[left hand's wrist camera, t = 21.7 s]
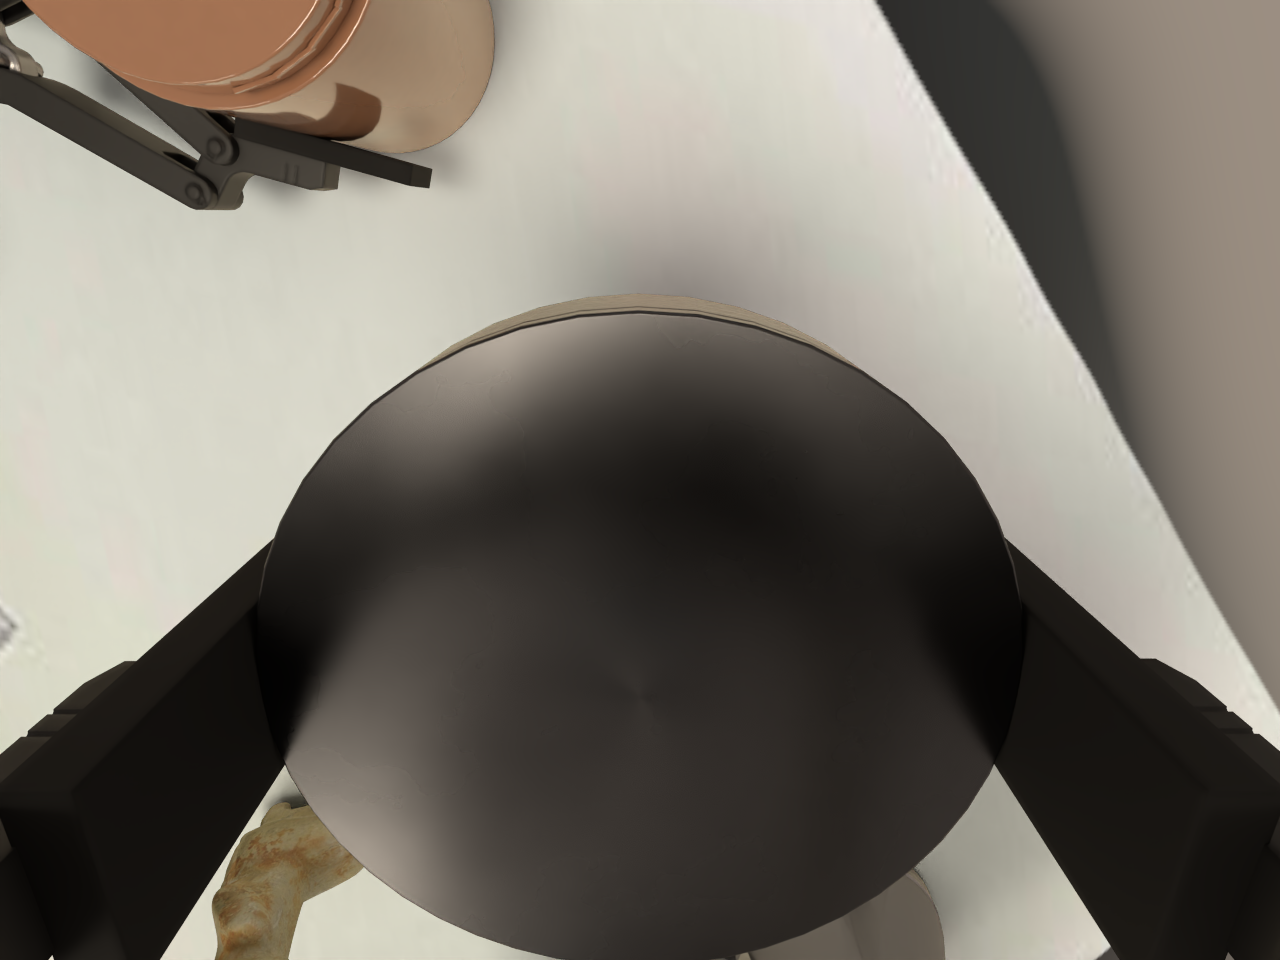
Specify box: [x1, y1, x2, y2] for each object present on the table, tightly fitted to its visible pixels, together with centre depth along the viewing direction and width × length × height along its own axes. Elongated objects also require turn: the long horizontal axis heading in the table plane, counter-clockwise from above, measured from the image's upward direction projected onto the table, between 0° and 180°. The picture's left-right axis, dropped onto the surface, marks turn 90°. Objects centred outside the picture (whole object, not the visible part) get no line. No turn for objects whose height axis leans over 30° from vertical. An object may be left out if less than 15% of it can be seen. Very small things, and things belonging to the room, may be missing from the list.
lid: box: [256, 294, 1023, 960], centre depth 11 cm, size 11×11×2 cm
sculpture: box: [212, 802, 364, 960], centre depth 40 cm, size 6×7×15 cm
